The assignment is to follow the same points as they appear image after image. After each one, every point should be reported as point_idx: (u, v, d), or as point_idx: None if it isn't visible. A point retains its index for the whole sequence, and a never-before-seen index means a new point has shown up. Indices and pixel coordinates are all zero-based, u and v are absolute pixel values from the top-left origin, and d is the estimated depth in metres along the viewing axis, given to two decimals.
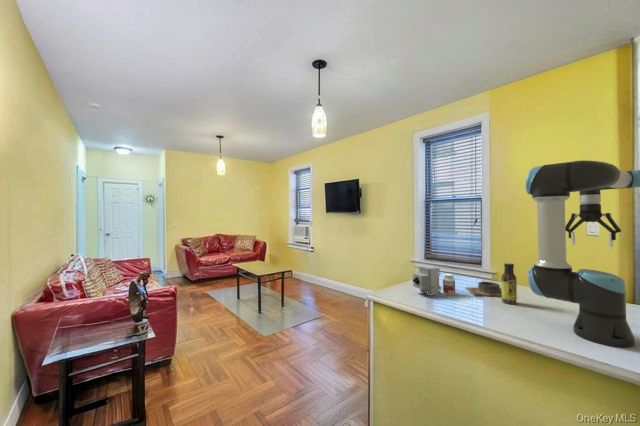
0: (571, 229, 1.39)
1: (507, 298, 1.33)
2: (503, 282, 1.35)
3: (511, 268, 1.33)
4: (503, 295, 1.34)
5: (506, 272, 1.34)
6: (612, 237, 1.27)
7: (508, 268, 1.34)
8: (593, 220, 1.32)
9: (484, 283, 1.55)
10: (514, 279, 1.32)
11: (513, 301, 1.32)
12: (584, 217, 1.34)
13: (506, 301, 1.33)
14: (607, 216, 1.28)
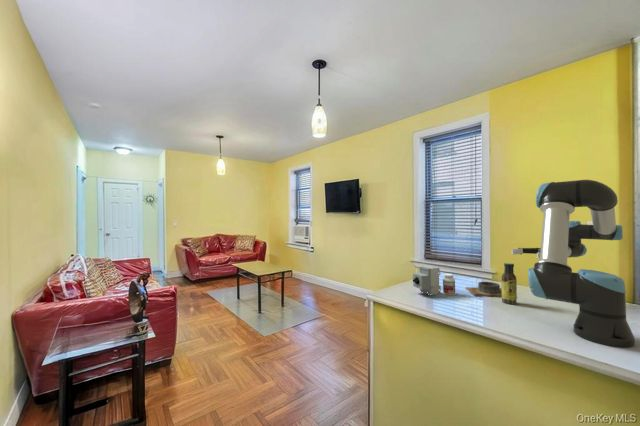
0: (524, 248, 1.45)
1: (507, 298, 1.33)
2: (503, 282, 1.35)
3: (511, 268, 1.33)
4: (503, 295, 1.34)
5: (506, 272, 1.34)
6: None
7: (508, 268, 1.34)
8: None
9: (484, 283, 1.55)
10: (514, 279, 1.32)
11: (513, 301, 1.32)
12: None
13: (506, 301, 1.33)
14: None
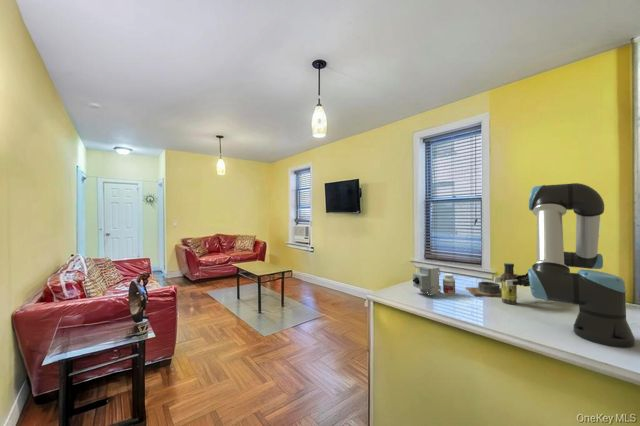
0: None
1: (507, 298, 1.33)
2: (503, 282, 1.35)
3: (511, 268, 1.33)
4: (503, 295, 1.34)
5: (506, 272, 1.34)
6: (515, 281, 1.31)
7: (508, 268, 1.34)
8: None
9: (484, 283, 1.55)
10: (514, 279, 1.32)
11: (513, 301, 1.32)
12: (523, 275, 1.39)
13: (506, 301, 1.33)
14: None
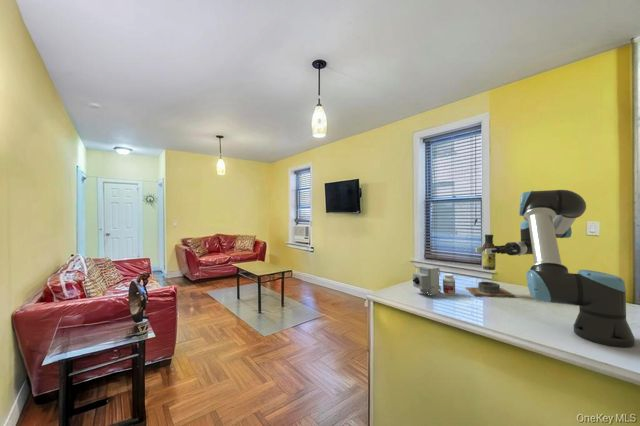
0: None
1: (487, 265, 1.49)
2: (483, 251, 1.51)
3: (490, 238, 1.50)
4: (484, 262, 1.51)
5: (486, 242, 1.51)
6: (494, 249, 1.47)
7: (488, 238, 1.50)
8: None
9: (484, 283, 1.55)
10: None
11: (492, 267, 1.48)
12: (502, 245, 1.55)
13: (486, 268, 1.50)
14: (512, 248, 1.48)
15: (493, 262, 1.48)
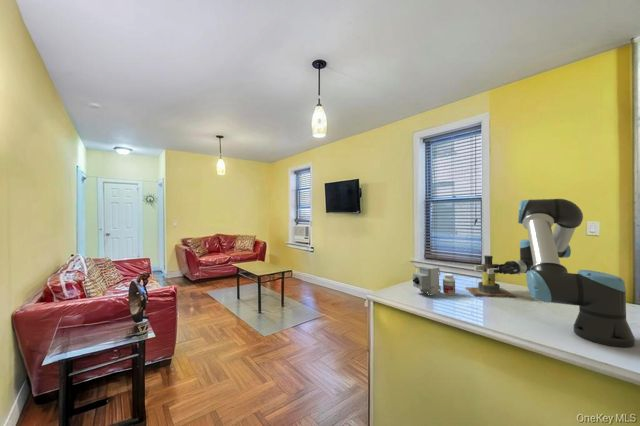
0: None
1: None
2: (483, 272, 1.52)
3: (490, 259, 1.51)
4: (484, 284, 1.51)
5: (486, 263, 1.52)
6: (496, 269, 1.46)
7: (488, 259, 1.51)
8: (504, 266, 1.52)
9: None
10: None
11: None
12: (501, 264, 1.55)
13: None
14: (513, 268, 1.48)
15: (493, 283, 1.49)
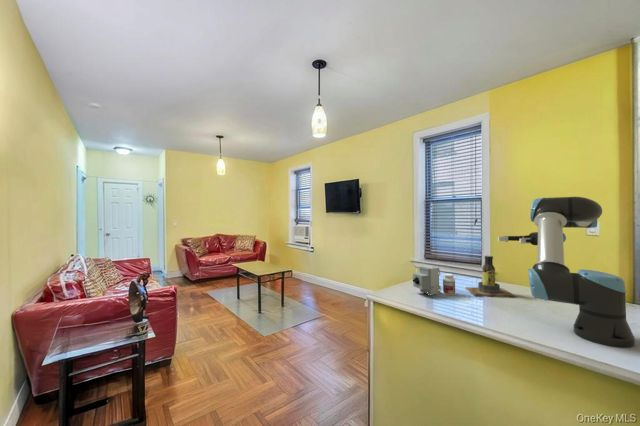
0: (509, 236, 1.59)
1: None
2: (483, 272, 1.51)
3: (490, 260, 1.50)
4: (484, 284, 1.51)
5: (486, 263, 1.51)
6: (528, 239, 1.44)
7: (488, 260, 1.50)
8: (529, 237, 1.52)
9: None
10: (493, 269, 1.49)
11: None
12: (526, 235, 1.55)
13: None
14: None
15: (493, 284, 1.49)
